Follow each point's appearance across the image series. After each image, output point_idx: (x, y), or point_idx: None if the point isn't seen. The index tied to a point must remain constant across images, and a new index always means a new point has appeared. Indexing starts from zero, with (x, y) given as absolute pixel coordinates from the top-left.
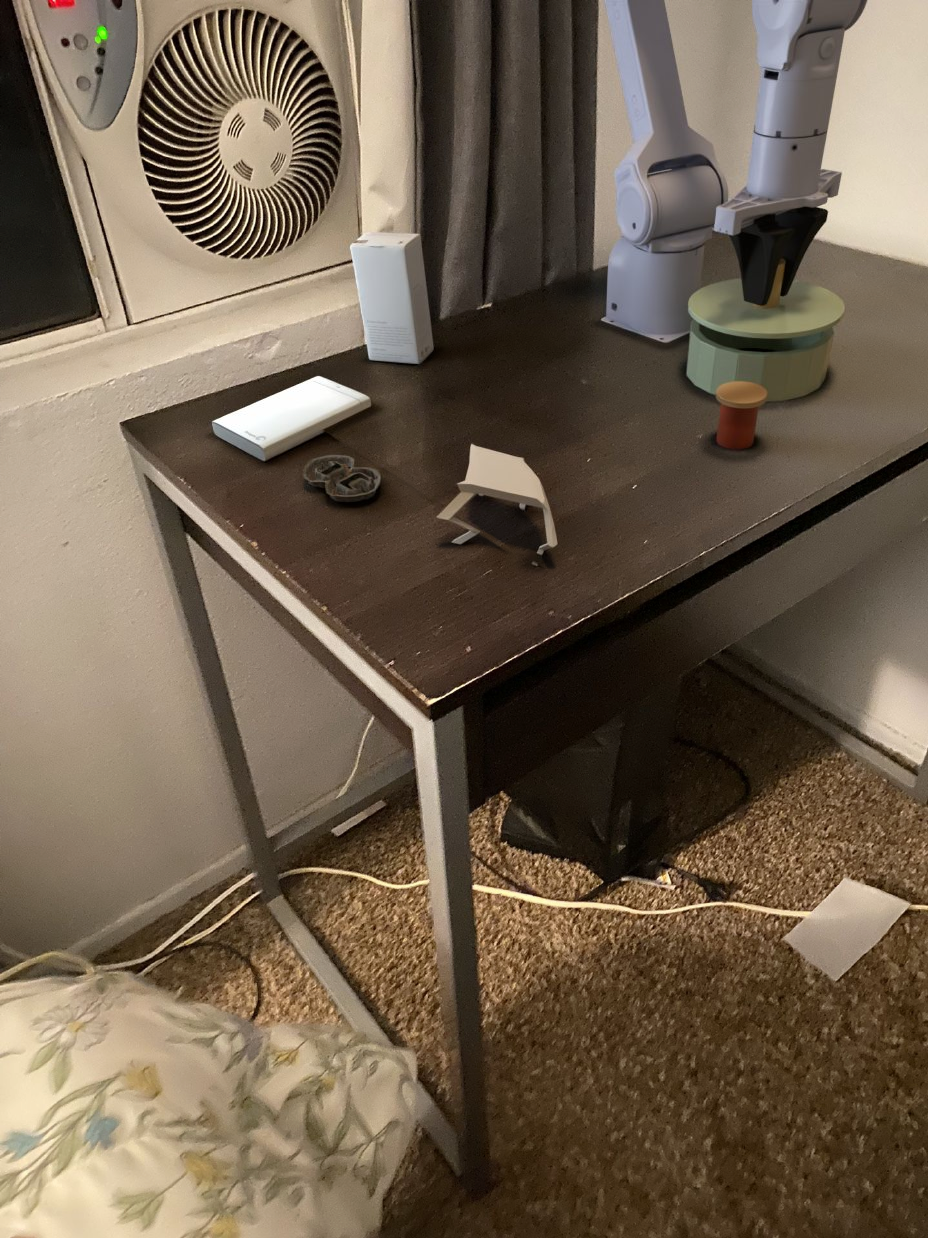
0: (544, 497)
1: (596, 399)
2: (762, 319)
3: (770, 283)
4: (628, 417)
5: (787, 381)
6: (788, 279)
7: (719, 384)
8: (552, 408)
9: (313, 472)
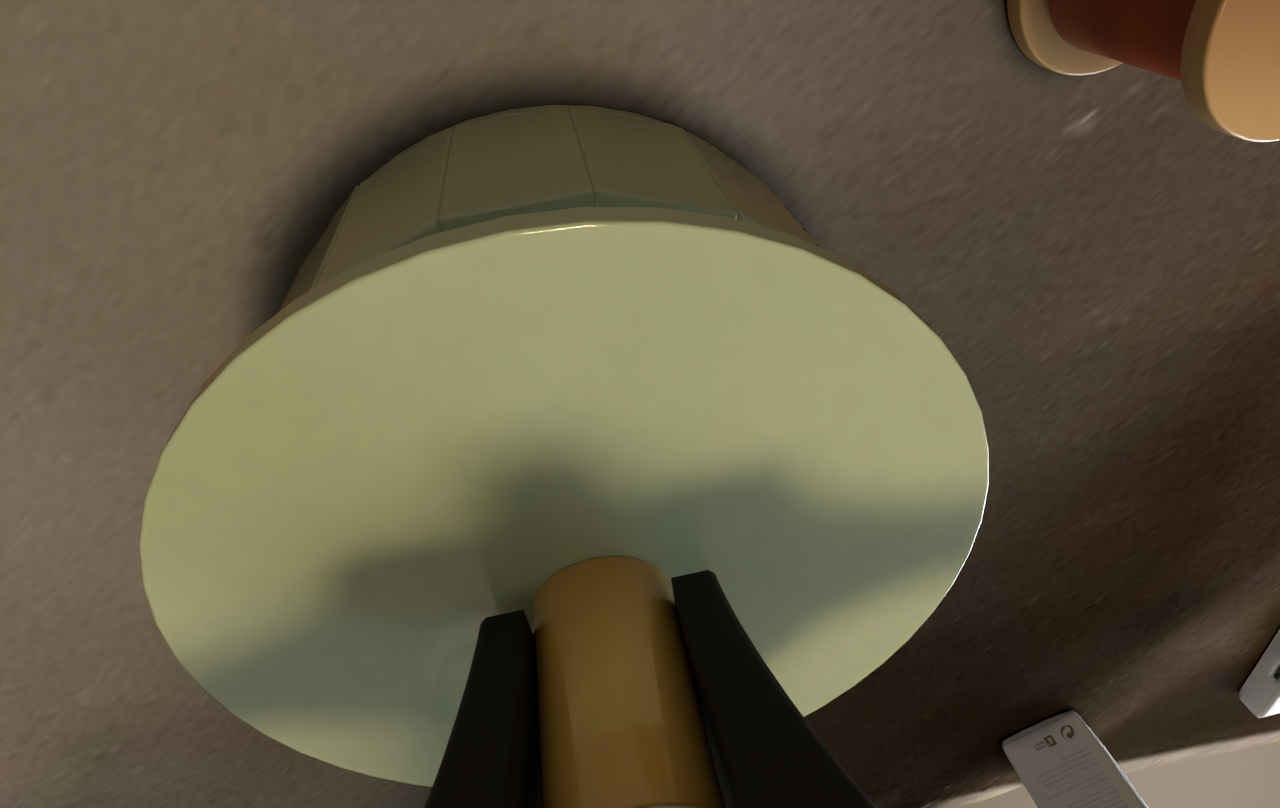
0: None
1: (1017, 472)
2: (787, 475)
3: (741, 673)
4: (1072, 354)
5: (697, 155)
6: (517, 696)
7: None
8: (1119, 482)
9: None
